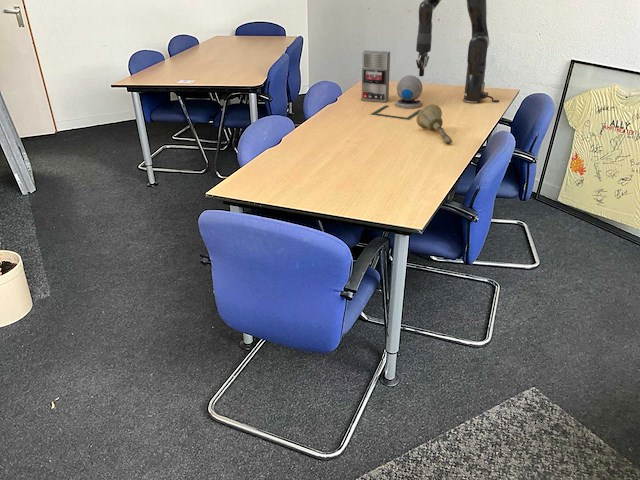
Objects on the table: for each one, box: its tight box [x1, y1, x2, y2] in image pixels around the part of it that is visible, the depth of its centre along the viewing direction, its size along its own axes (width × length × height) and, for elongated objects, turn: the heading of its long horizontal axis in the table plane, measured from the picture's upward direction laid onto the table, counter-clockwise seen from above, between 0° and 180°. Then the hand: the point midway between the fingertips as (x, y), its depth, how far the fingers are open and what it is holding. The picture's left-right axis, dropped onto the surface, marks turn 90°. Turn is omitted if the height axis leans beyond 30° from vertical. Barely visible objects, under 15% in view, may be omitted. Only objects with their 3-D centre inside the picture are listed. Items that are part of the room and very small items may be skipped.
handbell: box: [416, 103, 453, 145], centre depth 231 cm, size 12×12×25 cm
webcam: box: [395, 74, 423, 109], centre depth 274 cm, size 13×13×15 cm
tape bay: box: [371, 105, 421, 120], centre depth 267 cm, size 20×17×1 cm
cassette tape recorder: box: [360, 50, 391, 103], centre depth 282 cm, size 14×6×25 cm, turn 68°
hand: (421, 76), depth 284 cm, fingers closed
